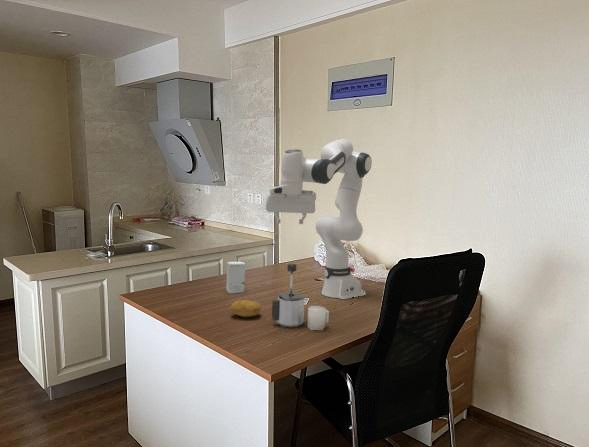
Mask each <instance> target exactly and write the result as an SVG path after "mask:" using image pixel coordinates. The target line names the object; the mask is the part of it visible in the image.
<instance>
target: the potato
mask: <svg viewBox="0 0 589 447" xmlns="http://www.w3.org/2000/svg"><path fill="white" fill-rule="evenodd" d="M230 310H231V312H232V313H234V314H235V315H237V316H239V317H242V318H251V317H255V316H257V315H258V314H260V313H261V310H262V305H261V304H260V303H259V302H258V301H253V300H248V299H247V300H245V299H244V300H241V299H240V300H239V299H238V300H236V301H234V302H233V303H231V305H230Z"/></svg>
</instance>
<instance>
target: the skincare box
mask: <svg viewBox="0 0 589 447" xmlns="http://www.w3.org/2000/svg"><path fill="white" fill-rule="evenodd" d="M245 281H246V263H245V262H243V261H227V262H226V286H225V290H226V292H227V294H239V293H240V294H241V293H245V284H246V282H245Z"/></svg>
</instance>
